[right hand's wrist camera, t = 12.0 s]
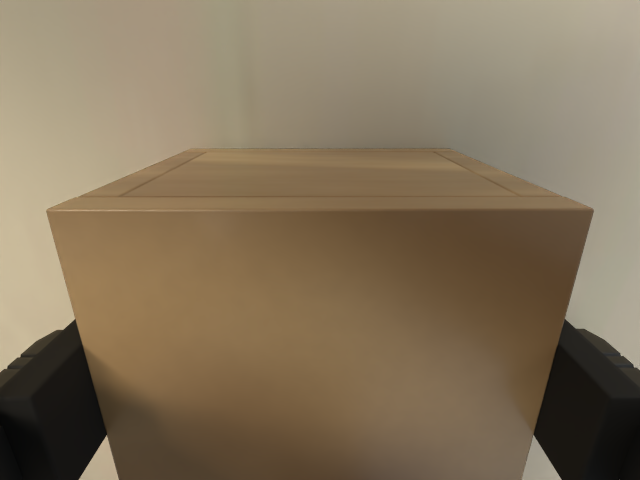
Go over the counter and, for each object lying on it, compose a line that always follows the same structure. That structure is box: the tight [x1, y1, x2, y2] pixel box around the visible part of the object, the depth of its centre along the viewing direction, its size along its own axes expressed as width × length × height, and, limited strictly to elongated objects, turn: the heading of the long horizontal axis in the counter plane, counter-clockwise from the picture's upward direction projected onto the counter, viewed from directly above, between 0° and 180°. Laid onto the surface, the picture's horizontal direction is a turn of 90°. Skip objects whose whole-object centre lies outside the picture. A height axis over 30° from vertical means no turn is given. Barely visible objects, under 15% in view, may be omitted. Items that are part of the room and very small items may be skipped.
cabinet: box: [46, 149, 594, 480], centre depth 14 cm, size 17×11×9 cm, turn 0°
